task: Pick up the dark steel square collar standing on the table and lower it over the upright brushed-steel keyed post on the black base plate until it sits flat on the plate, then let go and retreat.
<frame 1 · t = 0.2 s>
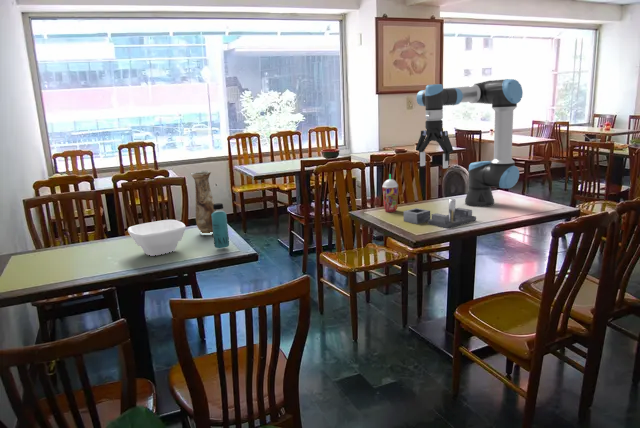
hand: (433, 167, 226), 27 cm above the table, fingers open, 13 cm apart
vase: (208, 234, 238), on the table
shaft stand: (451, 222, 234), on the table
smoothie: (390, 211, 264), on the table
hub: (416, 220, 240), on the table
beverage bottle: (222, 249, 211), on the table
bowl: (160, 253, 211), on the table
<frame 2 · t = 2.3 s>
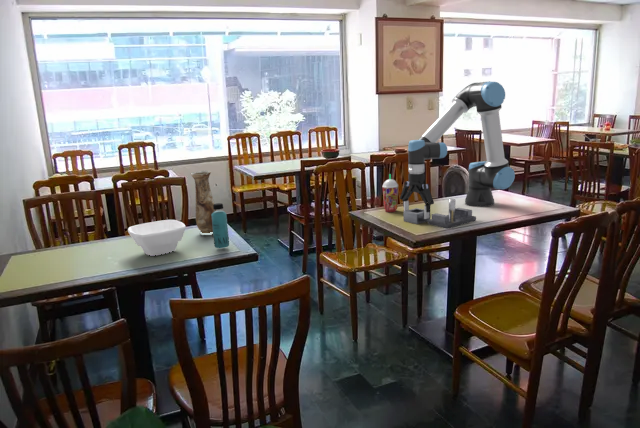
hand: (416, 216, 240), 2 cm above the table, fingers open, 13 cm apart
nothing on the table moved.
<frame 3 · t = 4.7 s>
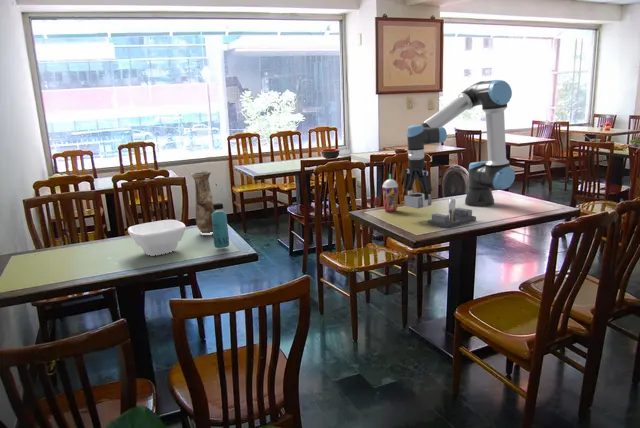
hand: (417, 204, 239), 8 cm above the table, fingers closed on hub, 9 cm apart
hub: (418, 205, 239), point 8 cm above the table, touching gripper
everything else where it was.
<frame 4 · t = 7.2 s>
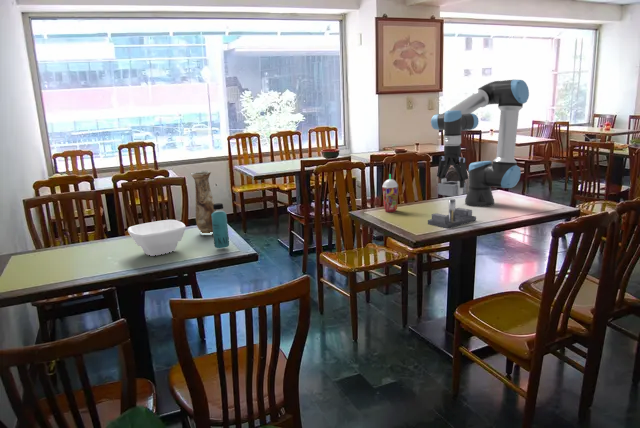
hand: (451, 193, 231), 14 cm above the table, fingers closed on hub, 9 cm apart
hub: (451, 193, 231), point 14 cm above the table, touching gripper
everything else where it was.
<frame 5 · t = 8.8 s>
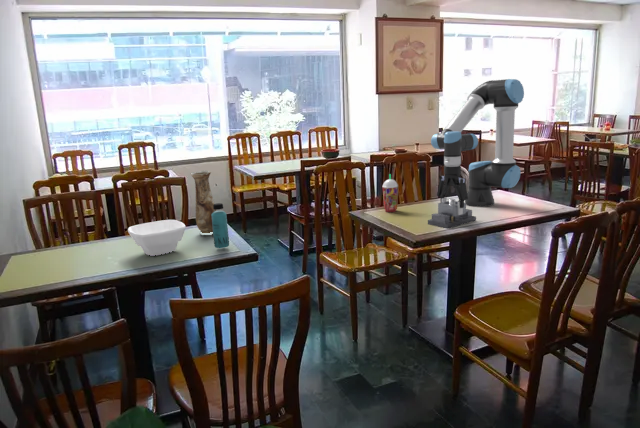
hand: (451, 212, 233), 5 cm above the table, fingers closed on hub, 9 cm apart
hub: (451, 213, 233), point 4 cm above the table, touching gripper
everything else where it was.
when the fingers open (2 cm above the table, at t = 10.1 s): hub stays where it is, resting on shaft stand.
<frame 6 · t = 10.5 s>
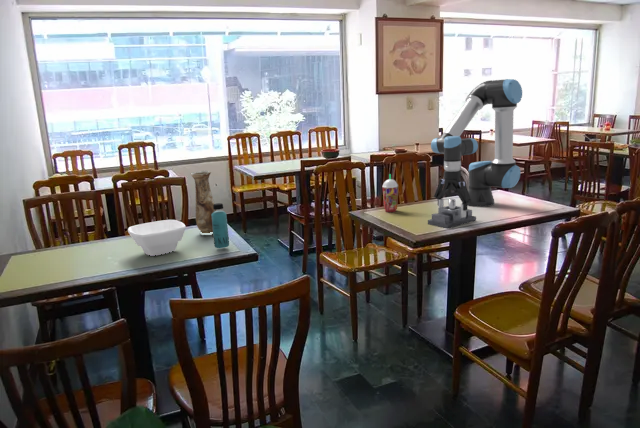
hand: (452, 214, 233), 4 cm above the table, fingers open, 13 cm apart
hub: (452, 218, 233), point 2 cm above the table, touching shaft stand
everything else where it was.
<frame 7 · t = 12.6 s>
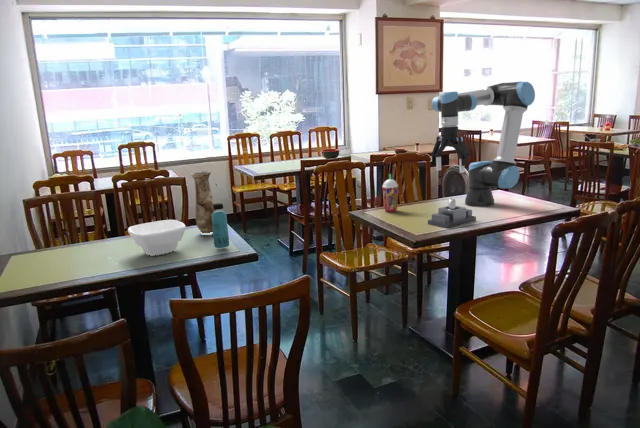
hand: (450, 171, 233), 24 cm above the table, fingers open, 13 cm apart
nothing on the table moved.
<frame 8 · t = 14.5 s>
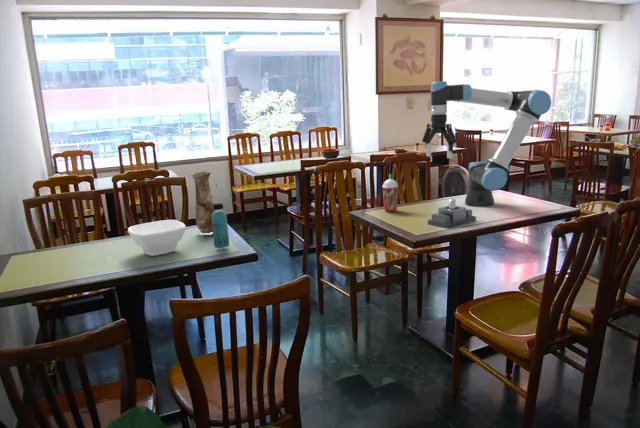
hand: (438, 157, 248), 29 cm above the table, fingers open, 13 cm apart
nothing on the table moved.
at the end: hub 0.1 cm off-centre on the shaft stand, point 2.0 cm above the shaft stand's base; hub tilted 0°; the gripper is holding nothing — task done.
